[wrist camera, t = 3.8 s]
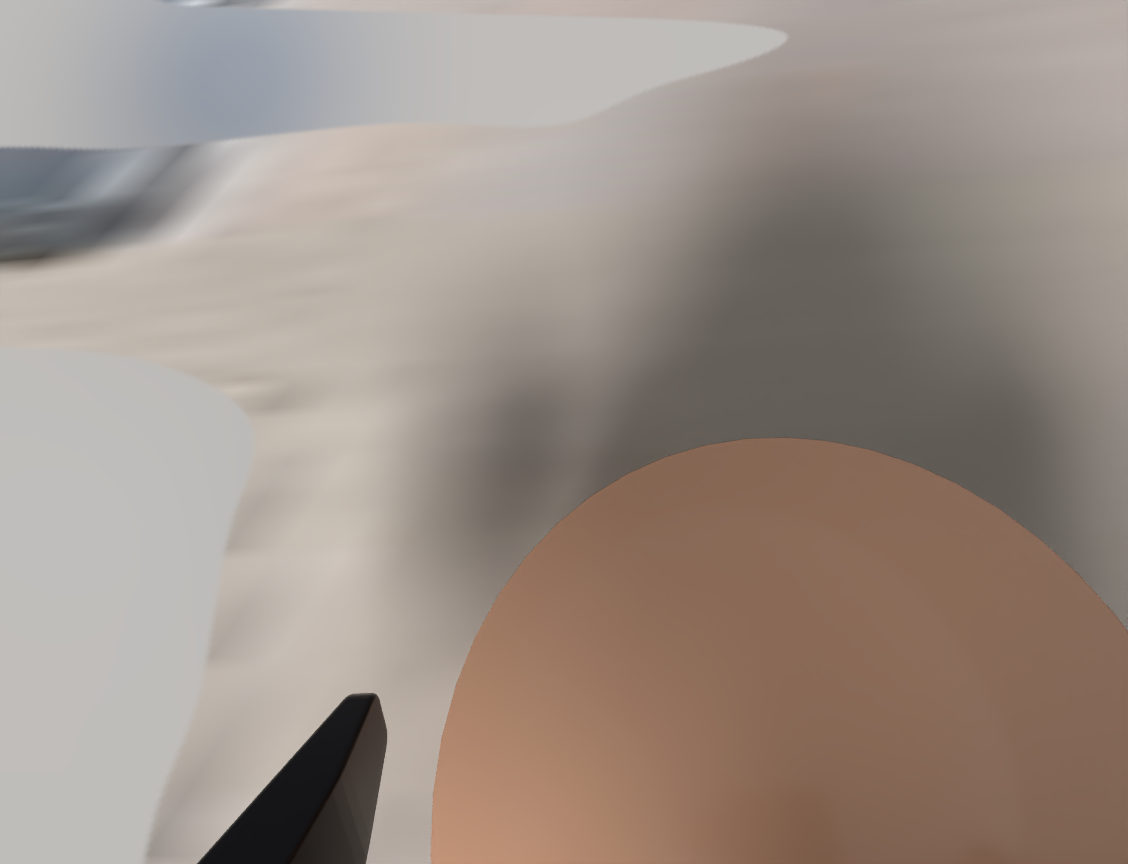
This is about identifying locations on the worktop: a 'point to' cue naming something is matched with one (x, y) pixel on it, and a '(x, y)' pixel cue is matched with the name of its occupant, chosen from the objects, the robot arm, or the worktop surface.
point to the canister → (788, 678)
